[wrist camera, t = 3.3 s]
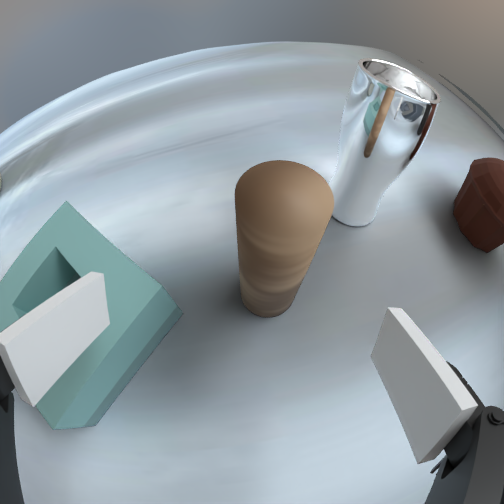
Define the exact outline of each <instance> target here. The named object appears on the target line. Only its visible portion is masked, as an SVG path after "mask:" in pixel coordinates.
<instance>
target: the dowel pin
mask: <svg viewBox="0 0 504 504" xmlns="http://www.w3.org/2000/svg"><path fill="white" fill-rule="evenodd" d="M235 209H236V226H237V243H238V259H239V275H240V290H241V298H242V301H243V303H244V305H245V306H246V308H247V309H248V310H249V311H251V312H252V313H254V314H255V315H258V316H261V317H275V316H278V315H280V314H282V313H284V312H285V311H286V310H287V309H288V308H289V307H290V305H291V304H292V302H293V300H294V298H295V295H296V293H297V291H298V289H299V287H300V285H301V283H302V281H303V279H304V276H305V274H306V272H307V270H308V268H309V266H310V263H311V261H312V259H313V257H314V254H315V252H316V250H317V248H318V246H319V243H320V241H321V239H322V236H323V234H324V232H325V229H326V227H327V225H328V222H329V220H330V218H331V215H332V213H333V209H334V197H333V193H332V190H331V188H330V186H329V185H328V183H327V182H326V180H325V179H324V178H323V177H322V176H321V175H319V174H318V173H317V172H316V171H314V170H313V169H311V168H309V167H307V166H305V165H302V164H299V163H296V162H291V161H282V160H277V161H268V162H264V163H261V164H258V165H256V166H254V167H252V168H250V169H249V170H247V171H246V172H245V173H244V174H243V175H242V176H241V178H240V179H239V181H238V183H237V185H236V189H235Z"/></svg>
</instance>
